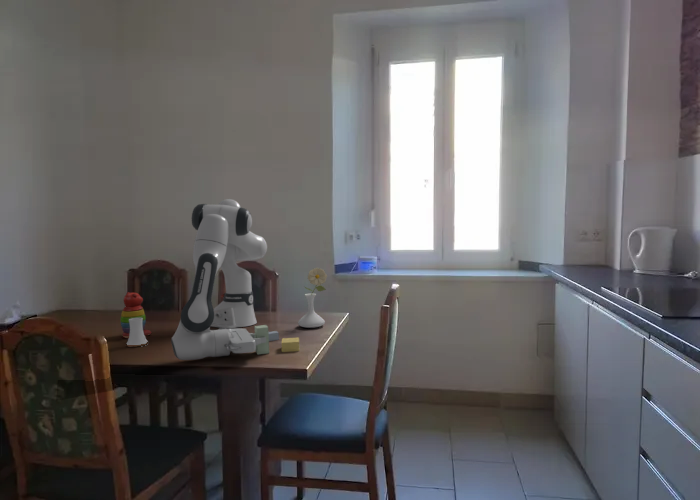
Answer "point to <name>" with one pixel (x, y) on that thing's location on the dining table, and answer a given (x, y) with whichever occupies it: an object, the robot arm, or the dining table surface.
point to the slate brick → (273, 335)
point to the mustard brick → (290, 344)
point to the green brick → (262, 332)
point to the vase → (136, 332)
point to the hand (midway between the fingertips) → (264, 337)
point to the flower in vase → (311, 317)
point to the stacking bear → (132, 312)
